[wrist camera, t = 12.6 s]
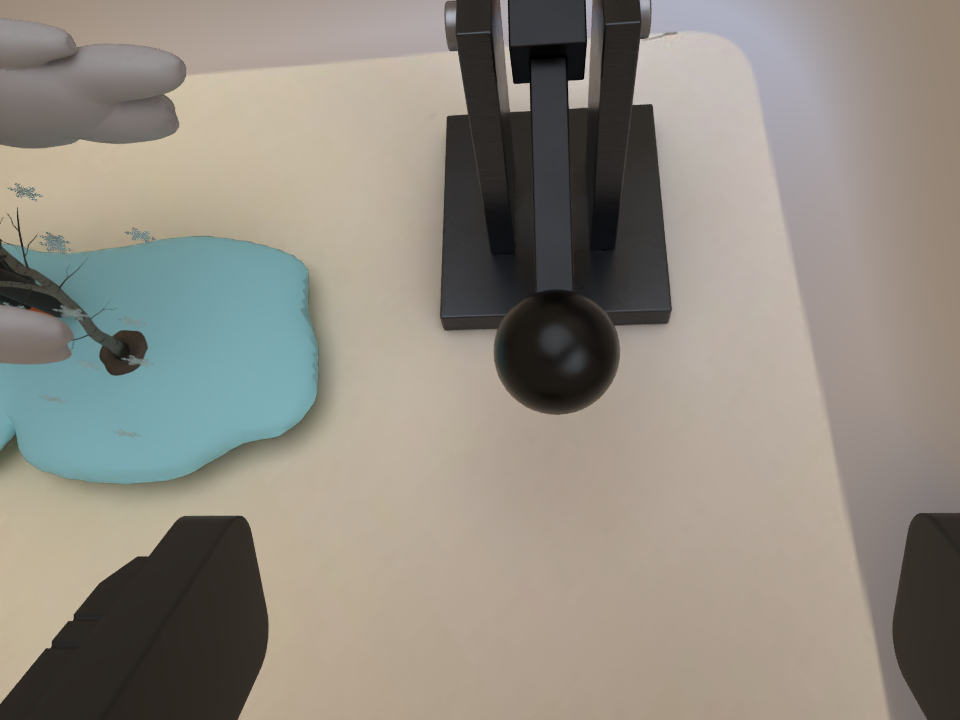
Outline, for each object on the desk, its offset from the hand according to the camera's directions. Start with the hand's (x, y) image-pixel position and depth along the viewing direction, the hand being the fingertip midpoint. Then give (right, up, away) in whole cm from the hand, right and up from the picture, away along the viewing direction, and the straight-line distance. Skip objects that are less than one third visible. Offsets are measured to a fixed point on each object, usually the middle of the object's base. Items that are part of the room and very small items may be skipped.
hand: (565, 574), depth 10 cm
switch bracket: (+2, +9, +24) cm, 26 cm away
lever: (+1, +7, +15) cm, 17 cm away
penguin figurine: (-17, +2, +24) cm, 29 cm away
